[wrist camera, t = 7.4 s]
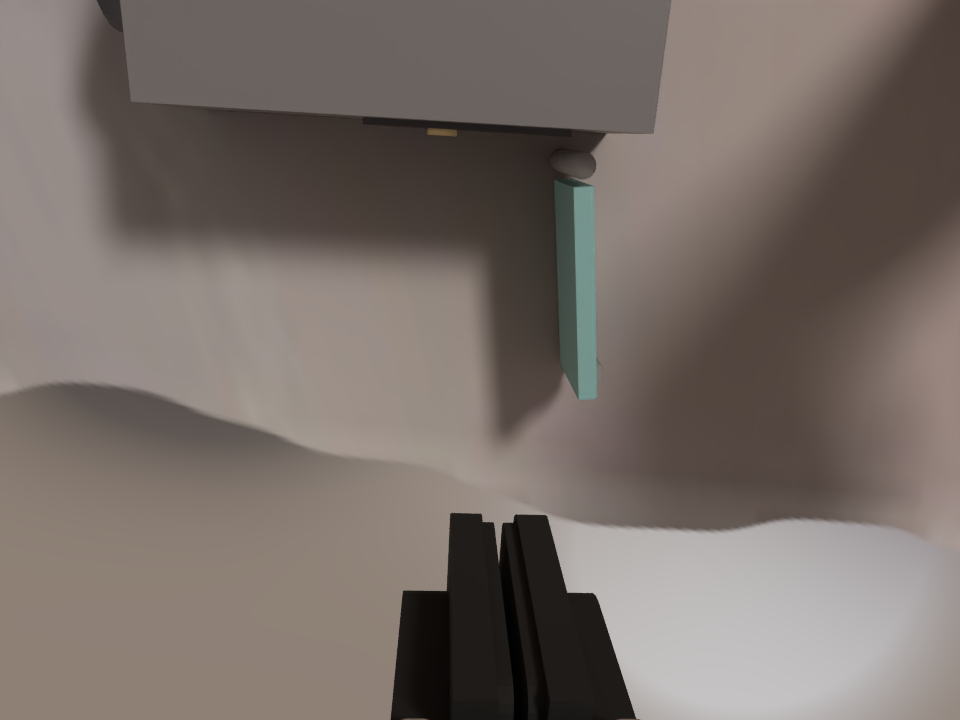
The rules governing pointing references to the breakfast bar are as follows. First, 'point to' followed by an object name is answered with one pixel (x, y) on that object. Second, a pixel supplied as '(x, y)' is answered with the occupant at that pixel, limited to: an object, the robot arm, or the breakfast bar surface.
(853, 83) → the breakfast bar surface
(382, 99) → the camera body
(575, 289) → the side door
